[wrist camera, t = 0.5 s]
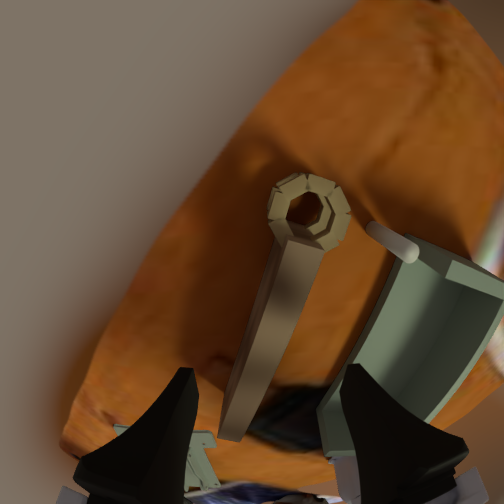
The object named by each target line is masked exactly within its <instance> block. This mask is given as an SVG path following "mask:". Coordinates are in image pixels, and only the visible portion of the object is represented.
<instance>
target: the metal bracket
mask: <svg viewBox="0 0 504 504" xmlns="http://www.w3.org/2000/svg"><path fill="white" fill-rule="evenodd" d="M129 427H130V426H125V425H118V424H114V429H115V431H116V433H117V435H118V436H119V435H120V434H122V433H123V432H124V431H125V430H127V429H128V428H129ZM203 443H205V444H203ZM216 447H217V444H216V442H215V439H214V437H213V434H212V432H211V431H208V430H193V432H192V437H191V441H190V445H189V449H188V454H187V462H186V471H185V484H184V490H185V491H186V492H187V491H188V488H189V486H196V487H200V488H201V490H205V491H207V490H208V487H213V488H220V487H221V485H220V483H219V481H218V479H217V477H216V475H215V472H214V470H213V468H212V466H211V464H210V462H209V460H208V457H207V455H206V453H205V451H204V448H216ZM215 483H216V484H218V485H216V484H215Z"/></svg>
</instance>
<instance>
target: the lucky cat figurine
mask: <svg viewBox="0 0 504 504" xmlns="http://www.w3.org/2000/svg"><path fill="white" fill-rule="evenodd" d="M273 504H329V503H328V502H327V501H326V499H324V498H318V497H317V496H316V495H315V494H297V495H286V496H285V497H283V498H282V499H280V500H276V501H275V502H274V503H273Z"/></svg>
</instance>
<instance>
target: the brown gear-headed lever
mask: <svg viewBox="0 0 504 504" xmlns="http://www.w3.org/2000/svg"><path fill="white" fill-rule="evenodd" d="M335 183H336V182H333V181H330V180H328V179H325V178H322V177H319V176H316V175H313V174H310V173H307V174H305V173H302V172H299V175H298V174H297V173H293V174H291V175H290V176H288V177H286V178H284V179H282V180H280V181H278V182H276V185H277V187H278V188H276V187H272V191H271V194H270V197H269V201H268V204H267V210H269V211H268V212H267V217H268V219H269V220H268V224H269V226H270V228H271V230H272V231H273V233H274V235H275V238H274V242H273V245H272V248H271V251H270V254H269V258H268V261H267V264H266V267H265V270H264V274H263V277H262V280H261V283H260V286H259V289H258V293H257V296H256V299H255V302H254V305H253V308H252V311H251V314H250V317H249V320H248V324H247V327H246V330H245V333H244V336H243V339H242V342H241V345H240V348H239V351H238V354H237V357H236V360H235V363H234V366H233V369H232V372H231V375H230V378H229V381H228V384H227V387H226V390H225V393H224V399H223V405H222V411H221V417H220V423H219V430H218V436H217V438H219V439H224V440H229V441H234V442H240V441H241V439H242V437H243V436H244V434H245V432H246V430H247V428H248V426H249V424H250V422H251V420H252V418H253V417H254V415H255V413H256V411H257V409H258V407H259V405H260V403H261V401H262V399H263V397H264V395H265V392H266V390H267V388H268V386H269V384H270V382H271V380H272V378H273V376H274V374H275V371H276V369H277V367H278V365H279V363H280V360H281V358H282V356H283V354H284V352H285V349H286V347H287V345H288V343H289V340H290V338H291V336H292V333H293V331H294V329H295V326H296V324H297V321H298V319H299V317H300V314H301V312H302V309H303V307H304V304H305V302H306V299H307V297H308V294H309V292H310V289H311V287H312V284H313V282H314V279H315V276H316V274H317V271H318V268H319V266H320V263H321V260H322V258H323V255H324V253H325V252H327V251H329V250H331V249H333V248H335V247H336V246H338V245H339V243H338V241H337V239H338V240H342V241H343V239H344V236H345V233H346V231H347V228H348V225H349V222H350V219H351V215H349V214H348V213H347V212H349V211H351V209H350V206H349V204H348V202H347V200H346V198H345V196H344V194H343V192H342V189H341V187H340V186H338V185H335ZM307 191H311V192H314V193H315V194H316V196H317V198H318V200H319V202H320V204H321V205H320V208H319V212H318V215H317V218H316V219H315V220H313V221H312V222H310V223H308V224H306V225H302V224H298V223H295V222H292V221H288V220H286V215H287V211H288V208H289V205H290V201H291V200H292V199H294V198H296V197H298V196H300V195H302V194H304V193H305V192H307ZM325 227H326V228H325Z"/></svg>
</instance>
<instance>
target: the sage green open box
mask: <svg viewBox="0 0 504 504" xmlns="http://www.w3.org/2000/svg"><path fill="white" fill-rule="evenodd" d="M366 233H367V234H368V235H369V236H370V237H372V238H373V239H374V240H376V241H377V242H379V243H380V244H381V245H383V246H384V247H386V248H387V249H388V250H390V251H391V252H392V253H394V254H395V255H396V256H397V257H396V259H395V262H394V264H393V267H392V269H391V272H390V274H389V276H388V279H387V281H386V283H385V286H384V288H383V290H382V292H381V294H380V297H379V299H378V301H377V303H376V305H375V307H374V309H373V311H372V313H371V315H370V317H369V319H368V321H367V323H366V325H365V327H364V329H363V331H362V333H361V335H360V337H359V339H358V341H357V342H356V344H355V346H354V348H353V350H352V352H351V353H350V355H349V357H348V359H347V360H346V362H345V364H344V365H343V367H342V369H341V370H340V372H339V374H338V375H337V377H336V379H335V380H334V382H333V383H332V385H331V387H330V388H329V390H328V391H327V393H326V394H325V396H324V397H323V399H322V400H321V402H320V403H319V405H318V406H317V408H316V412H317V418H318V423H319V429H320V435H321V441H322V447H323V453H324V457H339V456H356V453H355V448H354V444H353V441H352V438H351V435H350V431H349V428H348V425H347V422H346V419H345V416H344V413H343V410H342V405H341V399H340V393H339V390H340V387H341V384H342V381H343V378H344V375H345V371H346V368H347V365H348V364H355V363H360V364H361V365H362V366H363V367H364V369H365V370H366V371H367V372H368V373H369V374H370V375H371V376H372V377H373V378H374V379H375V381H376V382H377V383H378V384H379V385H380V386H381V387H382V388H383V389H384V390H385V391H386V392H387V393H388V394H389V395H390V396H391V397H392V398H394V399H395V400H396V401H397V402H398V403H399V404H400V405H402V406H403V407H404V408H405V409H407V410H408V411H409V412H411V413H412V414H414V415H415V416H416V417H418V418H419V419H421V420H423V421H424V422H426V423H429V422H430V421H431V420H432V419H433V418H434V417H435V416H436V415H437V413H438V412H439V411H440V410H441V409H442V408H443V406H444V405H445V404H446V403H447V402H448V400H449V399H450V398H451V397H452V395H453V394H454V393H455V392H456V390H457V389H458V388H459V386H460V385H461V384H462V382H463V381H464V379H465V378H466V377H467V375H468V374H469V372H470V371H471V369H472V368H473V367H474V365H475V364H476V362H477V360H478V359H479V357H480V356H481V354H482V353H483V351H484V349H485V348H486V346H487V344H488V343H489V341H490V339H491V337H492V336H493V334H494V332H495V330H496V328H497V327H498V325H499V323H500V321H501V319H502V317H503V315H504V281H503V280H501V279H500V278H498V277H497V276H495V275H493V274H492V273H490V272H489V271H487V270H485V269H484V268H482V267H480V266H479V265H477V264H475V263H474V262H472V261H470V260H468V259H465V258H463V257H461V256H459V255H457V254H454V253H452V252H450V251H448V250H445V249H443V248H441V247H438V246H436V245H434V244H431V243H429V242H427V241H424V240H422V239H419V238H417V237H415V236H412V235H410V234H407V233H405V236H404V237H403V236H401V235H399V234H398V233H396V232H394V231H392V230H390V229H389V228H387V227H385V226H383V225H381V224H379V223H378V222H376V221H371V222H369V223H368V224H367V225H366Z"/></svg>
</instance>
